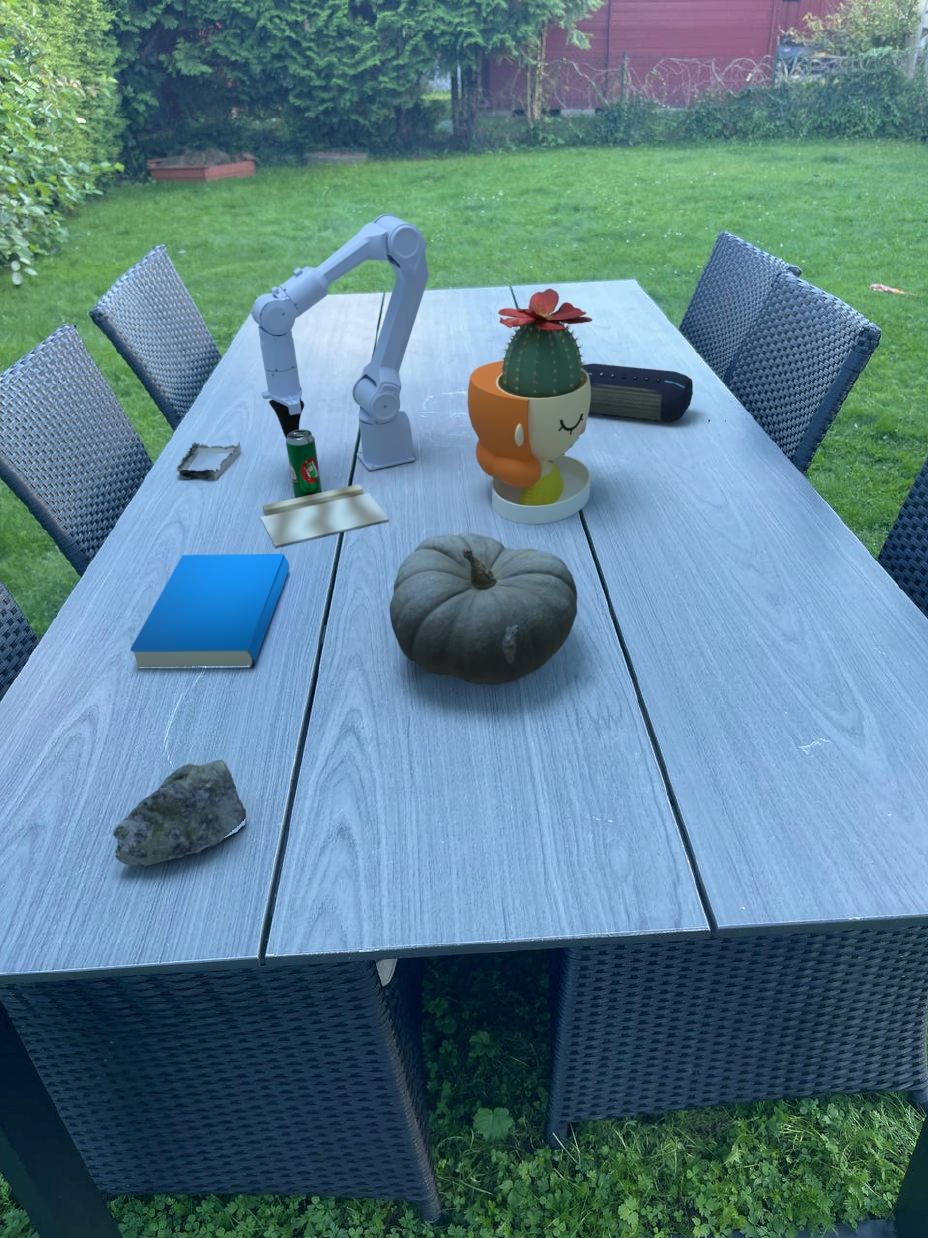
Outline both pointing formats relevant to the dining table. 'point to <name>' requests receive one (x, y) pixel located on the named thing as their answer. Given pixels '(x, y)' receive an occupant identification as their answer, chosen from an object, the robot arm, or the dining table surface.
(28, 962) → the dining table surface
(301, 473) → the soda can
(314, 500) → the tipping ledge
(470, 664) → the gourd
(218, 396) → the dining table surface
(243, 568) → the book
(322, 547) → the dining table surface
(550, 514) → the potted cactus
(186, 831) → the mineral rock
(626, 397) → the portable speaker
